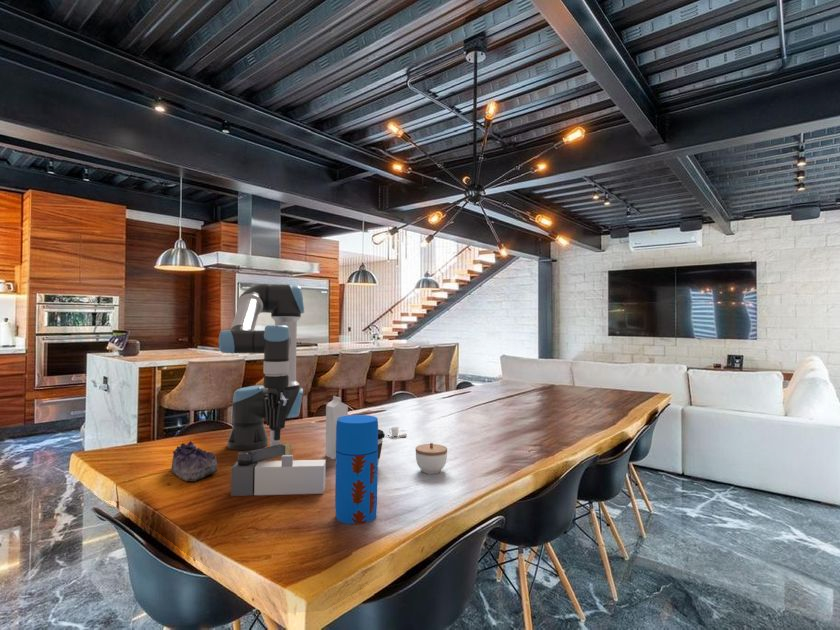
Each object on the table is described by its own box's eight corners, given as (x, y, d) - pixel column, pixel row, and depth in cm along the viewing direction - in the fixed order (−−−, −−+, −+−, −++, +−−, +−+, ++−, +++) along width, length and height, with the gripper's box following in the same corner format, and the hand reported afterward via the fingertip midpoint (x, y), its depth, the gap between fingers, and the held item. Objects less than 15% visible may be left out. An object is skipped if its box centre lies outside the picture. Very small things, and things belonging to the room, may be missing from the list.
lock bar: (292, 454, 145) (292, 444, 145) (241, 466, 133) (241, 455, 133) (285, 452, 148) (285, 442, 148) (235, 463, 136) (235, 452, 136)
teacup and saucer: (409, 437, 203) (409, 427, 204) (398, 440, 197) (398, 431, 197) (393, 434, 208) (393, 425, 208) (382, 437, 202) (382, 428, 202)
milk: (332, 459, 168) (333, 398, 168) (325, 455, 173) (325, 396, 173) (347, 456, 172) (348, 397, 172) (340, 452, 176) (340, 394, 176)
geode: (156, 472, 153) (161, 440, 154) (192, 468, 162) (196, 439, 163) (183, 484, 140) (188, 449, 141) (220, 479, 148) (224, 447, 150)
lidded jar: (424, 478, 149) (424, 449, 150) (409, 468, 159) (410, 441, 159) (453, 473, 154) (453, 445, 154) (437, 464, 164) (437, 437, 164)
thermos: (337, 507, 125) (338, 414, 126) (377, 506, 126) (378, 414, 126) (333, 525, 114) (334, 423, 115) (376, 524, 115) (378, 423, 116)
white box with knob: (236, 488, 138) (237, 451, 139) (325, 486, 141) (325, 449, 141) (230, 495, 132) (231, 457, 133) (323, 493, 135) (323, 455, 135)
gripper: (297, 375, 143) (296, 452, 143) (278, 371, 153) (277, 443, 153) (274, 377, 138) (272, 457, 138) (255, 373, 148) (254, 447, 147)
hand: (275, 449), depth 145 cm, fingers closed
